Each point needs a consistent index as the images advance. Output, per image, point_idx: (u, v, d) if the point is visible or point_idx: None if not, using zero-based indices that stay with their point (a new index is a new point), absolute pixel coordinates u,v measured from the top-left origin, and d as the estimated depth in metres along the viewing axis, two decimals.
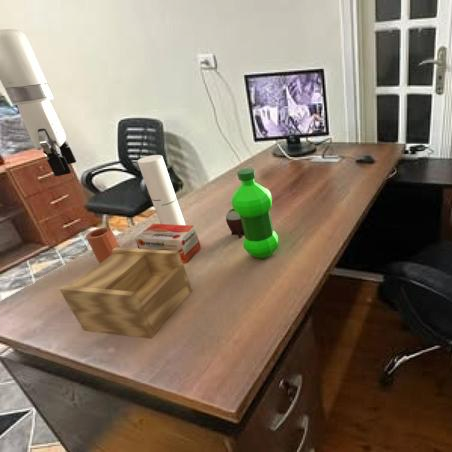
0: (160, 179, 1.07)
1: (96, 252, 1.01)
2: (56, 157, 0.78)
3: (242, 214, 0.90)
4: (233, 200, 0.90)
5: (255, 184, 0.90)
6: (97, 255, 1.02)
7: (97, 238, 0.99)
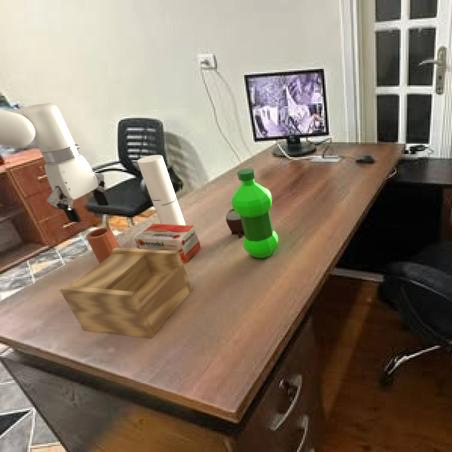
0: (160, 179, 1.07)
1: (96, 252, 1.01)
2: (66, 209, 0.91)
3: (242, 214, 0.90)
4: (233, 200, 0.90)
5: (255, 184, 0.90)
6: (97, 255, 1.02)
7: (97, 238, 0.99)
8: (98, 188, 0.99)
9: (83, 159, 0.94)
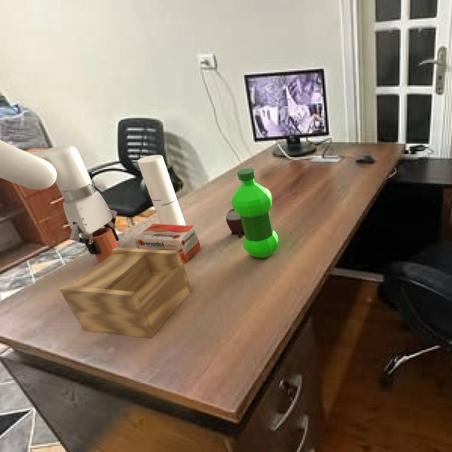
0: (160, 179, 1.07)
1: None
2: (87, 243, 0.98)
3: (242, 214, 0.90)
4: (233, 200, 0.90)
5: (255, 184, 0.90)
6: (97, 255, 1.02)
7: (97, 238, 0.99)
8: (110, 225, 1.03)
9: (99, 195, 0.99)
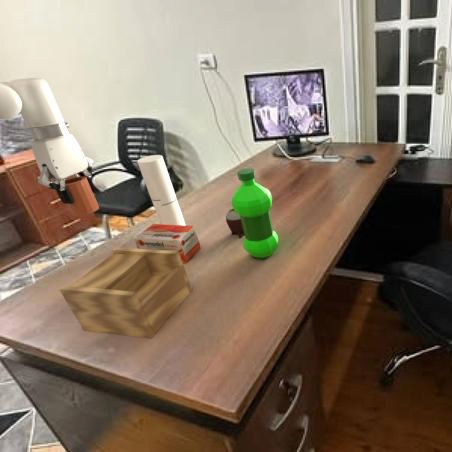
0: (160, 179, 1.07)
1: None
2: (58, 190, 0.89)
3: (242, 214, 0.90)
4: (233, 200, 0.90)
5: (255, 184, 0.90)
6: (70, 205, 0.93)
7: (70, 185, 0.91)
8: (85, 174, 0.95)
9: (72, 138, 0.91)
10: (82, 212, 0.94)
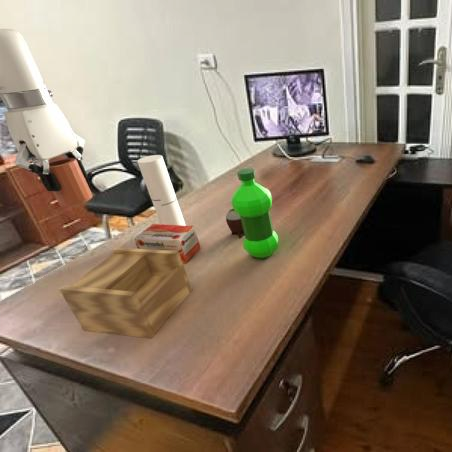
0: (160, 179, 1.07)
1: None
2: (41, 174, 0.72)
3: (242, 214, 0.90)
4: (233, 200, 0.90)
5: (255, 184, 0.90)
6: (57, 193, 0.76)
7: (56, 168, 0.73)
8: (74, 155, 0.78)
9: (57, 109, 0.73)
10: (72, 202, 0.77)
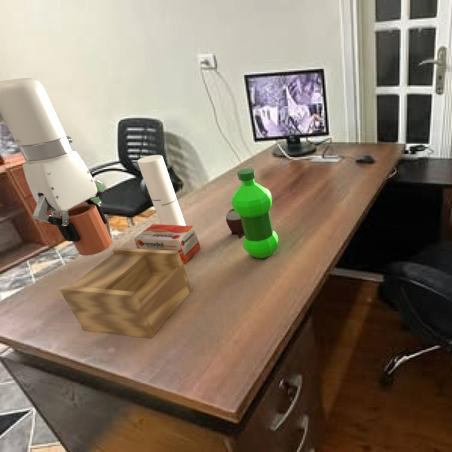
0: (160, 179, 1.07)
1: None
2: (60, 225, 0.68)
3: (242, 214, 0.90)
4: (233, 200, 0.90)
5: (255, 184, 0.90)
6: (76, 243, 0.72)
7: (75, 218, 0.70)
8: (94, 201, 0.74)
9: (77, 156, 0.69)
10: (91, 251, 0.73)
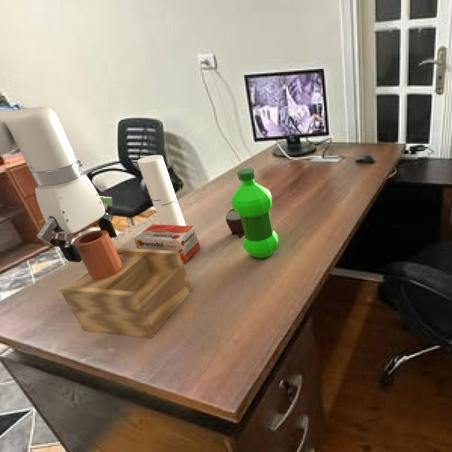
0: (160, 179, 1.07)
1: (87, 264, 0.75)
2: (62, 247, 0.69)
3: (242, 214, 0.90)
4: (233, 200, 0.90)
5: (255, 184, 0.90)
6: (89, 268, 0.75)
7: (88, 245, 0.73)
8: (105, 216, 0.77)
9: (87, 180, 0.72)
10: (103, 275, 0.76)
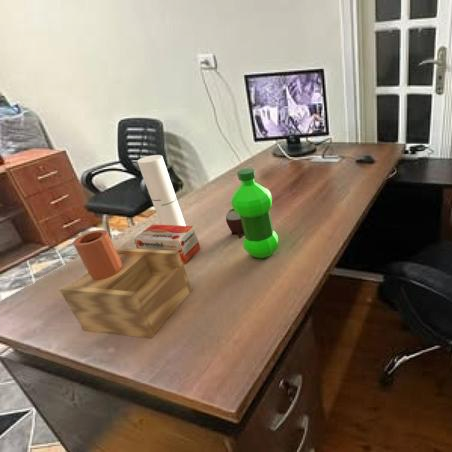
0: (160, 179, 1.07)
1: (87, 264, 0.75)
2: None
3: (242, 214, 0.90)
4: (233, 200, 0.90)
5: (255, 184, 0.90)
6: (89, 268, 0.75)
7: (88, 245, 0.73)
8: None
9: None
10: (103, 275, 0.76)
